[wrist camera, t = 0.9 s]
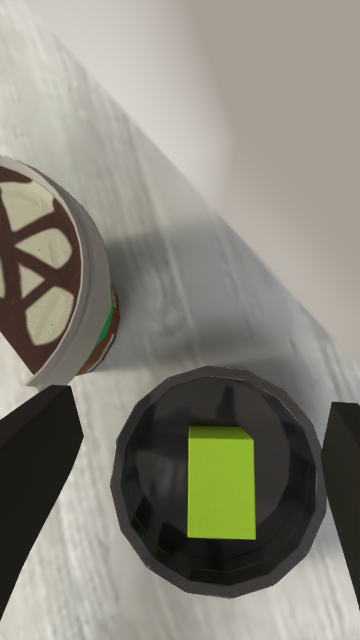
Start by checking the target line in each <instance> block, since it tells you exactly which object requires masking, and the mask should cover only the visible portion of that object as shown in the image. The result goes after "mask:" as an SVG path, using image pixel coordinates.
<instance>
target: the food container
mask: <svg viewBox="0 0 360 640" xmlns="http://www.w3.org/2000/svg"><path fill="white" fill-rule="evenodd" d="M119 319H120V315H119V305H118V297H117V294H116V292H115V290H114V288H113V285H112V283H111V281H110V270H109V262H108V256H107V253H106V249H105V246H104V243H103V239H102V237H101V235H100V233H99V231H98V229H97V227H96V225H95V223H94V221H93V220H92V218H91V217H90V216H89V214H88V213H87V212H86V210H85V209H84V207H83V206H82V205H81V204H80V203H79V202H78V201H77V200H76V199H75V198H74V197H73V196H72V195H70V194H69V193H68V192H67V191H66V190H65V189H63V188H62V187H61V186H59V185H58V184H57V183H56V182H54V181H53V180H52V179H50V178H49V177H47V176H46V175H44V174H43V173H41V172H40V171H39V170H37V169H35V168H33V167H31V166H29V165H26V164H24V163H22V162H20V161H17V160H14V159H12V158H9V157H7V156H4V155H0V332H1V333H2V334H3V336H4V337H5V338H6V340H7V341H8V342H9V344H10V345H11V346H12V347H13V349H14V350H15V351H16V353H17V354H18V355H19V357H20V358H21V359H22V361H23V362H24V363H25V365H26V366H27V367H28V368H29V370H30V371H31V372H32V374H33V375H34V376H33V377H32V378H31V379H30V380H29V381H28V382H27V383H26V384H25V385H26V386H35V387H36V389H37V390H38V391H42V390H44V389H45V388H47V387H48V386H50V385H67V384H68V383H69V382H70V381H71V380H72V379H73V378H74V377H75V376H78V375H82V374H86V373H90V372H92V371H93V370H94V369H95V368H96V367H97V366H98V365H99V364H100V363H101V362H102V361H103V360H104V358H105V356H106V354H107V353H108V351H109V349H110V347H111V346H112V344H113V342H114V340H115V337H116V333H117V328H118V324H119Z"/></svg>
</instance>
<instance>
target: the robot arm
mask: <svg viewBox="0 0 360 640" xmlns="http://www.w3.org/2000/svg"><path fill="white" fill-rule="evenodd" d="M83 437H84V435H83V431H82V427H81V424H80V420H79V416H78V412H77V408H76V404H75V401H74V397H73V393H72V389H71V386H67V385H50V386H48V387H47V388H45V389H44V390H42V391H41V392H39V393H38V394H36V395H35V396H33V397H32V398H31V399H29V400H28V401H26V402H25V403H24V404H22V405H21V406H19V407H18V408H16V409H15V410H14V411H12V412H11V413H9V414H8V415H7V416H5V417H4V418H2V419H1V420H0V620H1V618H2V615H3V613H4V610H5V608H6V605H7V603H8V601H9V598H10V596H11V593H12V591H13V589H14V586H15V584H16V581H17V579H18V576H19V574H20V572H21V569H22V567H23V565H24V563H25V561H26V559H27V557H28V555H29V552H30V550H31V548H32V546H33V544H34V543H35V541H36V539H37V537H38V535H39V533H40V531H41V529H42V527H43V525H44V523H45V521H46V519H47V517H48V515H49V513H50V512H51V510H52V508H53V506H54V504H55V502H56V500H57V498H58V496H59V494H60V492H61V490H62V488H63V486H64V484H65V482H66V480H67V478H68V476H69V474H70V472H71V470H72V468H73V465H74V462H75V460H76V457H77V455H78V452H79V449H80V446H81V443H82V440H83ZM321 463H322V469H323V476H324V481H325V487H326V492H327V497H328V501H329V505H330V508H331V512H332V515H333V519H334V522H335V526H336V529H337V533H338V536H339V539H340V543H341V546H342V550H343V553H344V556H345V560H346V563H347V567H348V570H349V574H350V577H351V580H352V584H353V587H354V591H355V594H356V597H357V601H358V605H359V609H360V406H359V404H358V403H344V402H332V404H331V409H330V414H329V418H328V423H327V428H326V433H325V438H324V443H323V447H322V452H321Z"/></svg>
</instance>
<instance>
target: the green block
mask: <svg viewBox="0 0 360 640" xmlns="http://www.w3.org/2000/svg"><path fill="white" fill-rule="evenodd" d="M188 537H194V538H224V539H254V540H255V539H256V522H255V477H254V440H253V439H252V438H251V437H250V436H249V435H248V434H247V433H246V432H245V431H244V430H243V429H242V428H241V427H221V426H189V460H188Z"/></svg>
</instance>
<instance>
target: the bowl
mask: <svg viewBox="0 0 360 640" xmlns="http://www.w3.org/2000/svg"><path fill="white" fill-rule="evenodd" d="M189 426H221V427H241V428H242V429H243V430H244V431H245V432H246V433H247V434H248V435H249V436H250V437H251V438H252V439H253V440H254V477H255V522H256V539H255V540H254V539H224V538H194V537H188V460H189ZM321 452H322V449H321V446H320V443H319V440H318V438H317V435H316V432H315V429H314V426H313V424H312V423H311V421H310V420H309V419H308V418H307V416H306V415H305V414H304V413H303V412H302V411H301V409H300V408H299V407H298V406H297V405H296V404H295V402H294V401H293V400H292V399H291V398H290V397H289V395H288V394H287V393H286V392H285V391H284V390H283V389H281V388H279V387H278V386H276V385H274V384H272V383H270V382H268V381H266V380H264V379H263V378H261V377H259V376H257V375H255V374H253V373H251V372H249V371H246V370H241V369H231V368H222V367H212V366H207V367H206V366H205V367H201V368H198V369H195V370H191V371H188V372H185V373H181V374H178V375H175V376H171V377H169V378H167V379H166V380H164V381H163V382H162V383H161V384H159V385H158V386H157V387H156V388H155V389H153V390H152V391H151V392H150V393H149V394H147V395H146V396H145V397H144V398H142V399H141V400H140V401H139V402H138V403H137V404H136V405H135V407H134V408H133V410H132V412H131V414H130V416H129V418H128V419H127V421H126V423H125V425H124V427H123V429H122V430H121V432H120V434H119V436H118V438H117V440H116V443H115V450H114V458H113V466H112V473H111V481H110V488H111V492H112V496H113V501H114V505H115V509H116V513H117V517H118V521H119V526H120V529H121V531H122V533H123V534H124V536H125V537H126V538H127V540H128V541H129V543H130V544H131V546H132V547H133V549H134V550H135V551H136V553H137V554H138V556H139V557H140V559H141V560H142V561H143V563H144V564H145V566H146V567H147V568H148V569H150V570H151V571H153V572H154V573H156V574H158V575H159V576H161V577H162V578H164V579H165V580H167V581H169V582H170V583H172V584H173V585H175V586H177V587H178V588H180V589H181V590H183V591H184V592H187V593H192V594H199V595H207V596H214V597H221V598H228V599H231V598H236V597H239V596H242V595H245V594H248V593H252V592H255V591H258V590H261V589H264V588H267V587H271V586H273V585H275V584H276V583H277V582H278V581H280V580H281V579H282V578H283V577H284V576H285V575H286V574H287V573H288V572H289V571H290V570H291V569H293V568H294V567H295V566H296V565H297V564H298V563H299V562H300V561H301V560H302V559H303V558H304V557H306V556H307V554H308V553H309V551H310V548H311V546H312V544H313V541H314V539H315V537H316V534H317V532H318V530H319V528H320V525H321V523H322V521H323V518H324V516H325V514H326V504H327V492H326V487H325V481H324V476H323V469H322V463H321Z"/></svg>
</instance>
